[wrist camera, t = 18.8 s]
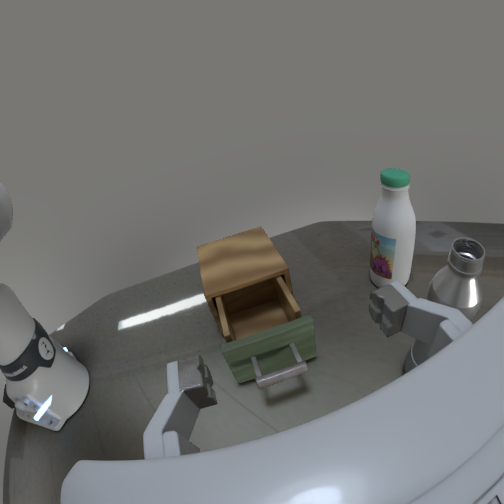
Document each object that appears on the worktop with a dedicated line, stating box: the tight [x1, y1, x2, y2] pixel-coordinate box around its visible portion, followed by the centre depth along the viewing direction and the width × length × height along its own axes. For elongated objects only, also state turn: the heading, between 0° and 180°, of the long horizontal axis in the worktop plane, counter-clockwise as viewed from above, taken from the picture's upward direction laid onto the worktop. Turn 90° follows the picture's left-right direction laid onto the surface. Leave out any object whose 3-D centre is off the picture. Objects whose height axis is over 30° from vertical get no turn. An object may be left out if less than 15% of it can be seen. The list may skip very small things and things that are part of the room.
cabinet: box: [197, 226, 293, 338], centre depth 47 cm, size 15×13×10 cm
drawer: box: [215, 275, 316, 389], centre depth 36 cm, size 18×11×8 cm, turn 15°
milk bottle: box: [370, 168, 416, 288], centre depth 40 cm, size 8×8×20 cm
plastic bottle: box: [405, 237, 485, 373], centre depth 23 cm, size 6×7×20 cm
